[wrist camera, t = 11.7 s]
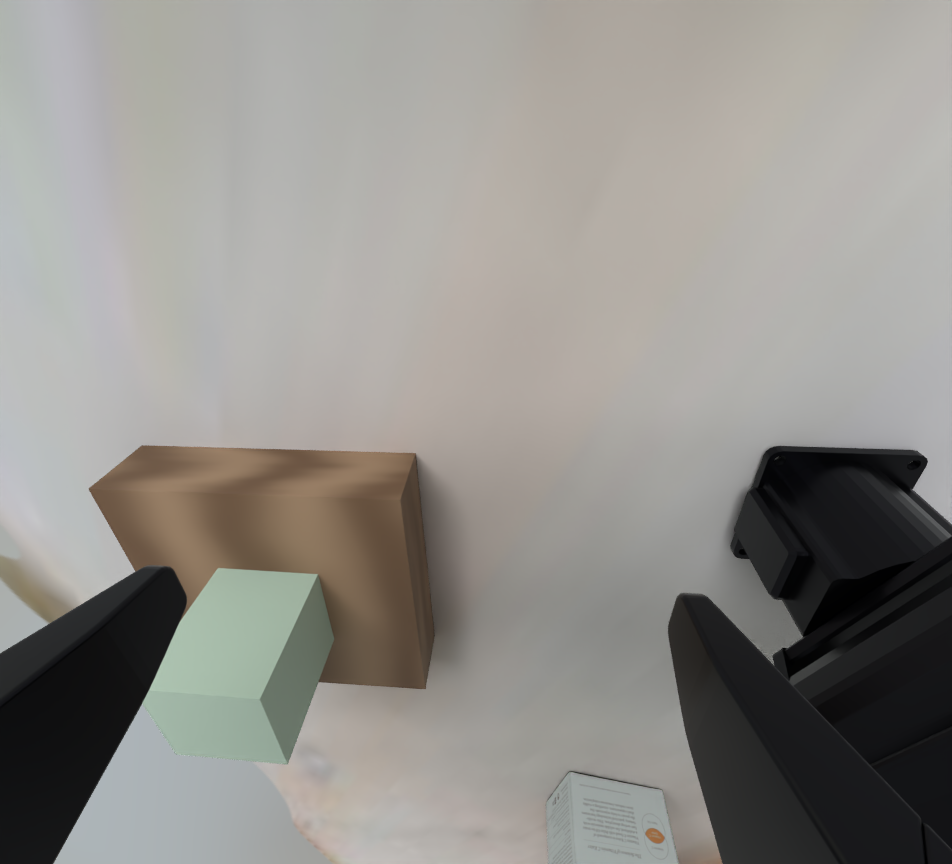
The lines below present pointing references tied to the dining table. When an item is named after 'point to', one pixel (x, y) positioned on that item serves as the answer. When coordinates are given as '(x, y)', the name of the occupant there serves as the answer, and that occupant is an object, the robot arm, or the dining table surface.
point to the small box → (607, 823)
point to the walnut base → (291, 539)
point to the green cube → (243, 666)
